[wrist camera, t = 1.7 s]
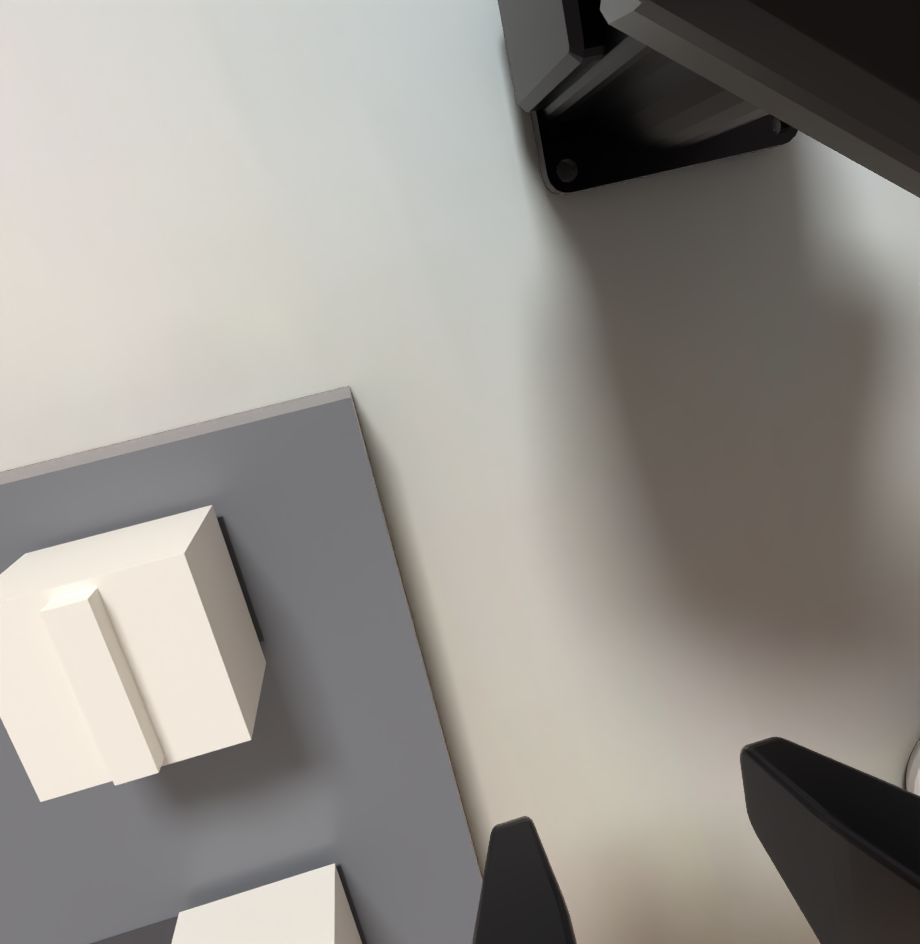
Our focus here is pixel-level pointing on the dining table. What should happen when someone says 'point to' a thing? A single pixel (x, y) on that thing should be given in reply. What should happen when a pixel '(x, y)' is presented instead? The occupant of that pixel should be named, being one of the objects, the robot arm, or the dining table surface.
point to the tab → (126, 654)
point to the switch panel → (279, 709)
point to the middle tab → (275, 914)
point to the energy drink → (914, 771)
